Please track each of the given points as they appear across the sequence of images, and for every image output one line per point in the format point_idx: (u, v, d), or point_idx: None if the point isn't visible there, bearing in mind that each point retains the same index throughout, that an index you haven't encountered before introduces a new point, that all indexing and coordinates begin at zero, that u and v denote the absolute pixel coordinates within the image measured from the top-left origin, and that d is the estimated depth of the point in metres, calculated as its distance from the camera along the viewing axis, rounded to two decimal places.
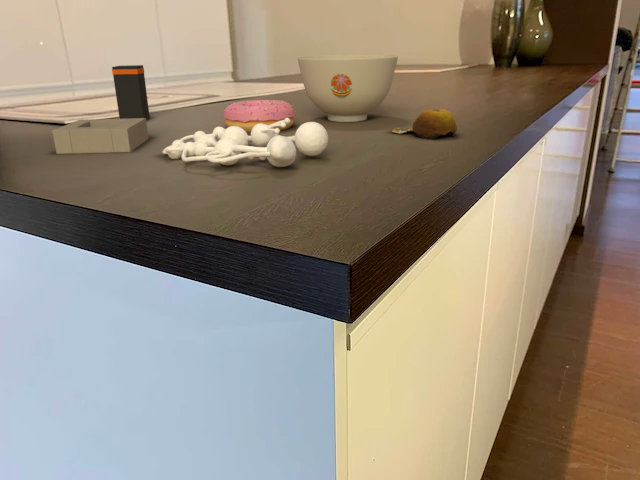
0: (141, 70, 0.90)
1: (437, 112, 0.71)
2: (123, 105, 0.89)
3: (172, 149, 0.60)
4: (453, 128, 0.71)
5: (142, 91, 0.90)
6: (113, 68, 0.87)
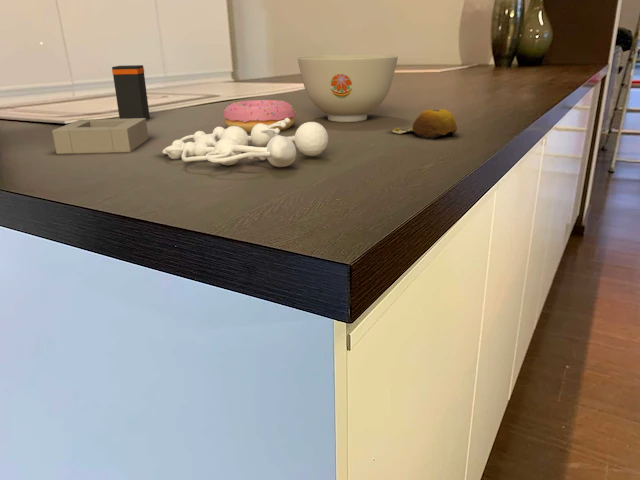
0: (141, 70, 0.90)
1: (437, 112, 0.71)
2: (123, 105, 0.89)
3: (172, 149, 0.60)
4: (453, 128, 0.71)
5: (142, 91, 0.90)
6: (113, 68, 0.87)
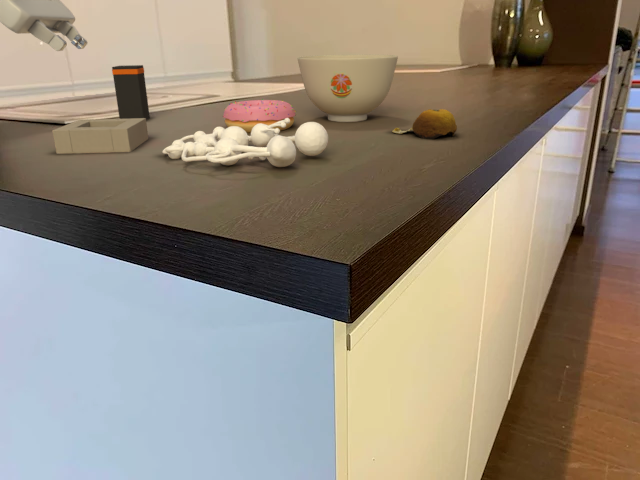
0: (141, 70, 0.90)
1: (437, 112, 0.71)
2: (123, 105, 0.89)
3: (172, 149, 0.60)
4: (453, 128, 0.71)
5: (142, 91, 0.90)
6: (113, 68, 0.87)
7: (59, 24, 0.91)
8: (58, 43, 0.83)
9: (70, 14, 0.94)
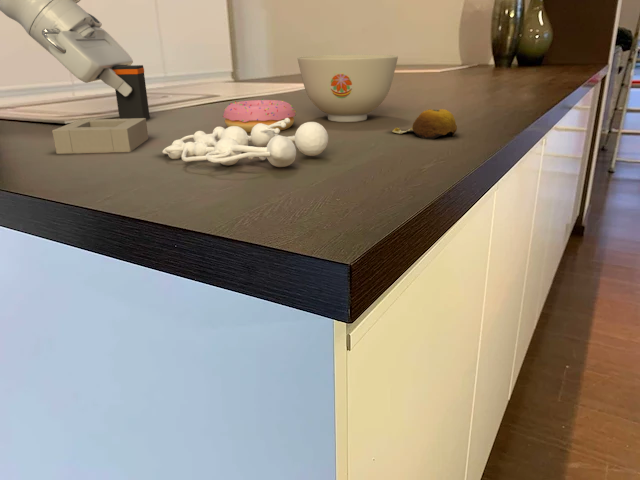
0: (141, 70, 0.90)
1: (437, 112, 0.71)
2: (123, 105, 0.89)
3: (172, 149, 0.60)
4: (453, 128, 0.71)
5: (143, 91, 0.90)
6: (113, 68, 0.87)
7: None
8: (126, 89, 0.87)
9: (128, 57, 0.96)
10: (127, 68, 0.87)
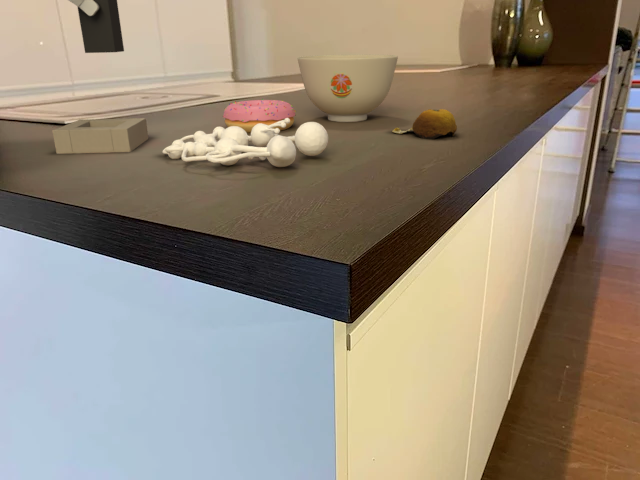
0: None
1: (437, 112, 0.71)
2: (88, 28, 0.70)
3: (172, 149, 0.60)
4: (453, 128, 0.71)
5: (113, 13, 0.71)
6: None
7: None
8: (91, 6, 0.68)
9: None
10: None
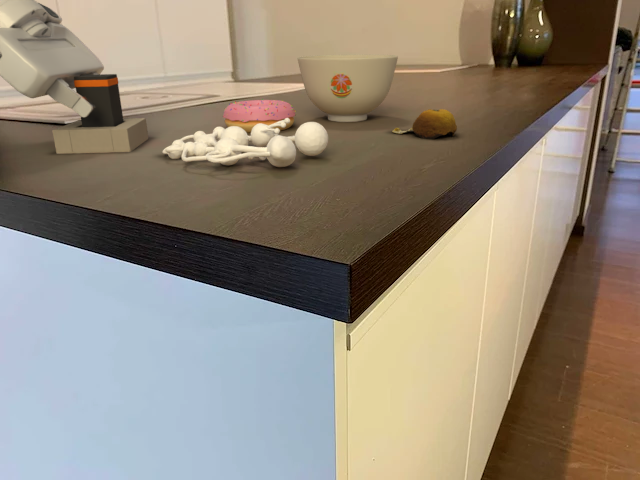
0: (114, 81, 0.68)
1: (437, 112, 0.71)
2: (90, 126, 0.68)
3: (172, 149, 0.60)
4: (453, 128, 0.71)
5: (116, 109, 0.69)
6: (75, 79, 0.66)
7: None
8: (85, 107, 0.63)
9: (98, 62, 0.74)
10: (94, 78, 0.66)
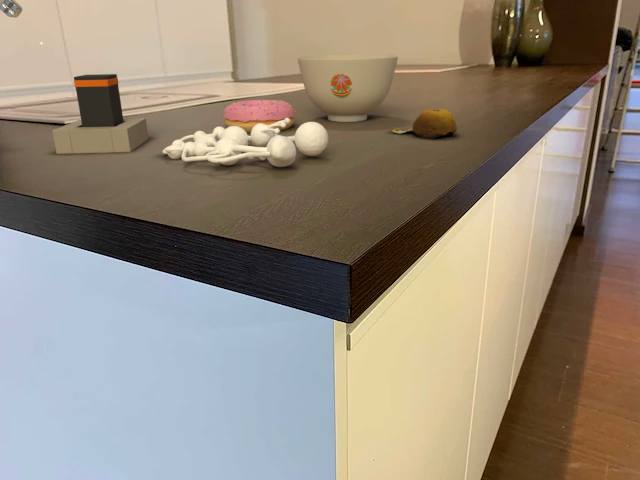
0: (114, 81, 0.68)
1: (437, 112, 0.71)
2: (90, 126, 0.68)
3: (172, 149, 0.60)
4: (453, 128, 0.71)
5: (116, 109, 0.69)
6: (75, 79, 0.66)
7: None
8: None
9: None
10: (94, 78, 0.66)
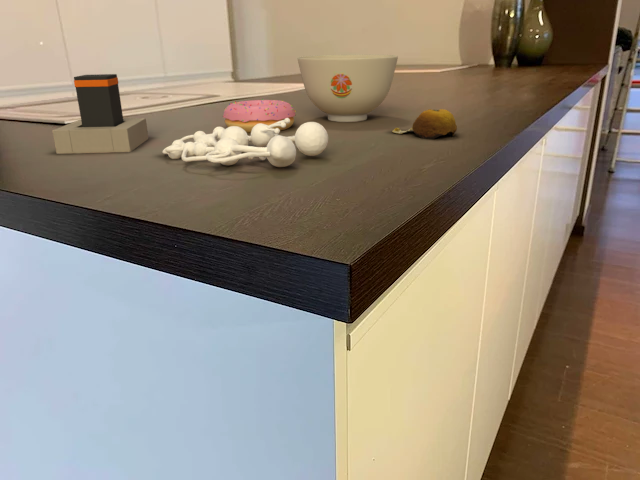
0: (114, 81, 0.68)
1: (437, 112, 0.71)
2: (90, 126, 0.68)
3: (172, 149, 0.60)
4: (453, 128, 0.71)
5: (116, 109, 0.69)
6: (75, 79, 0.66)
7: None
8: None
9: None
10: (94, 78, 0.66)
